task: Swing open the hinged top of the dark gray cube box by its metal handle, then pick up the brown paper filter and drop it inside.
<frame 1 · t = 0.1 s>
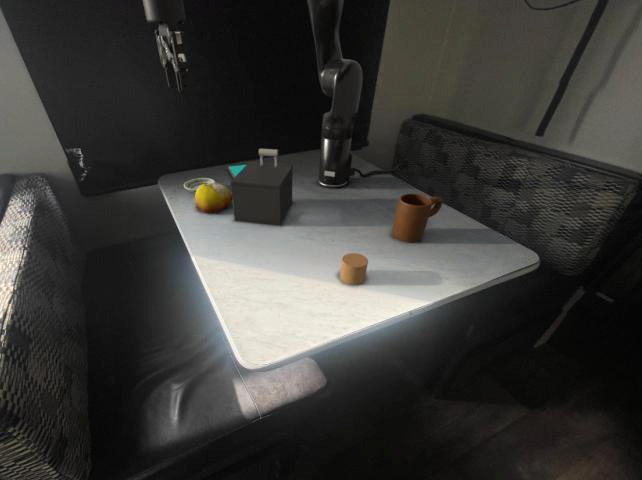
hand: (179, 90, 74), 29 cm above the table, tool pointing down, fingers open, 8 cm apart
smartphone: (242, 175, 115), on the table
mug: (413, 234, 84), on the table
fruit: (215, 207, 96), on the table
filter: (352, 277, 70), on the table
dark gray cube box: (264, 211, 94), on the table
saucer: (200, 191, 105), on the table
lid: (263, 165, 86), point 12 cm above the table, hinge at 0.0°
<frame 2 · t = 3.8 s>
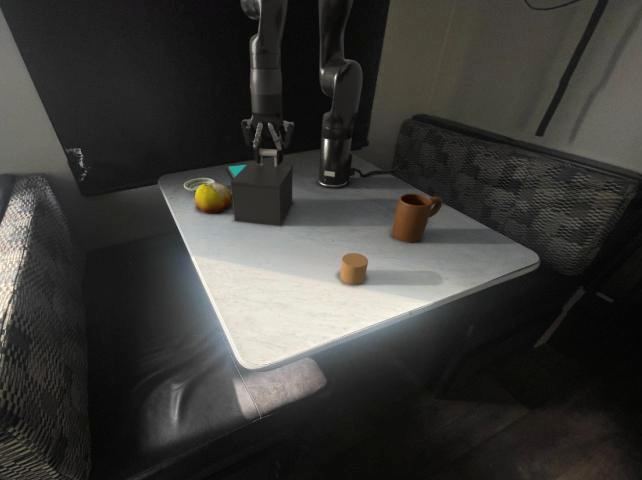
hand: (268, 162, 91), 11 cm above the table, tool pointing down, fingers closed on lid, 5 cm apart
lid: (263, 165, 86), point 12 cm above the table, hinge at 0.0°, touching gripper
everything else where it was.
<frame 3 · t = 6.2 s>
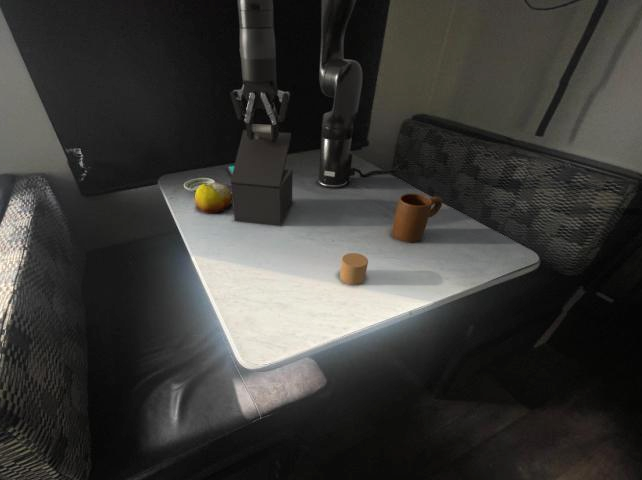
hand: (262, 139, 82), 19 cm above the table, tool pointing down, fingers closed on lid, 5 cm apart
lid: (259, 152, 81), point 16 cm above the table, hinge at 35.4°, touching gripper
everything else where it was.
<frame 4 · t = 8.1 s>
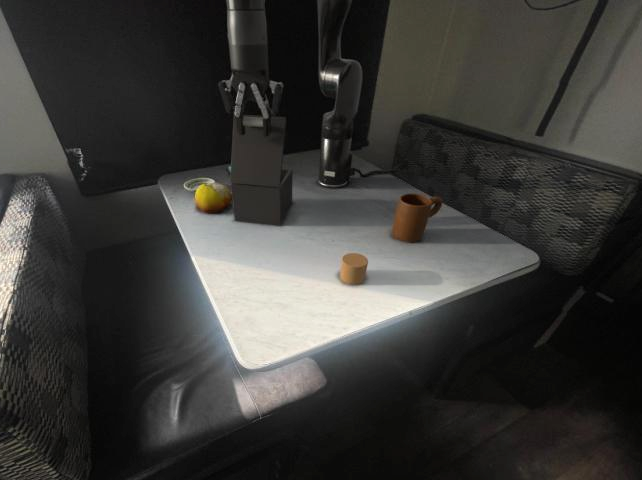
hand: (254, 134, 76), 21 cm above the table, tool pointing down, fingers closed on lid, 5 cm apart
lid: (254, 149, 78), point 18 cm above the table, hinge at 63.7°, touching gripper
everything else where it was.
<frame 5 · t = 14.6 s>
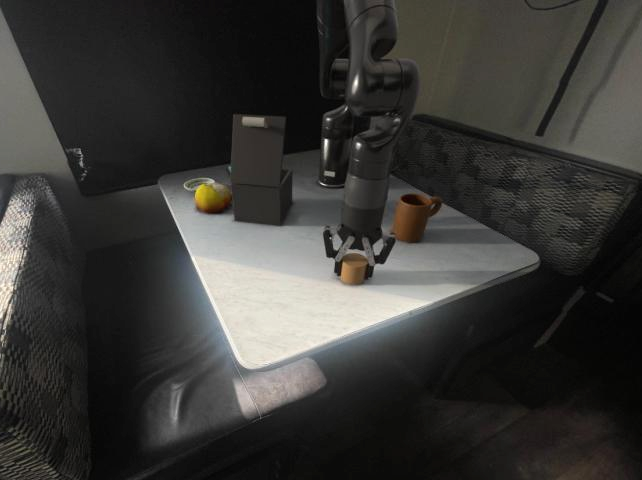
hand: (352, 275, 70), 0 cm above the table, tool pointing down, fingers closed on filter, 5 cm apart
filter: (352, 277, 70), on the table, touching gripper
lid: (254, 149, 77), point 18 cm above the table, hinge at 64.5°
everything else where it was.
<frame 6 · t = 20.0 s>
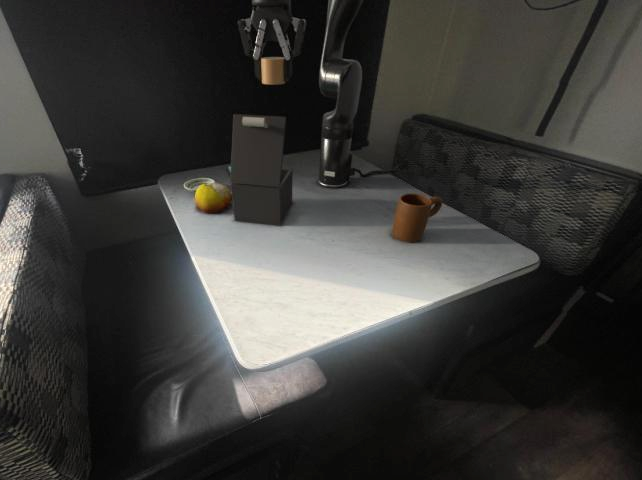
hand: (273, 80, 73), 31 cm above the table, tool pointing down, fingers closed on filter, 5 cm apart
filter: (273, 82, 73), point 31 cm above the table, touching gripper
everything else where it was.
when the fingers open (8 cm above the table, at t = 25.4 s): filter drops 7 cm, resting on dark gray cube box.
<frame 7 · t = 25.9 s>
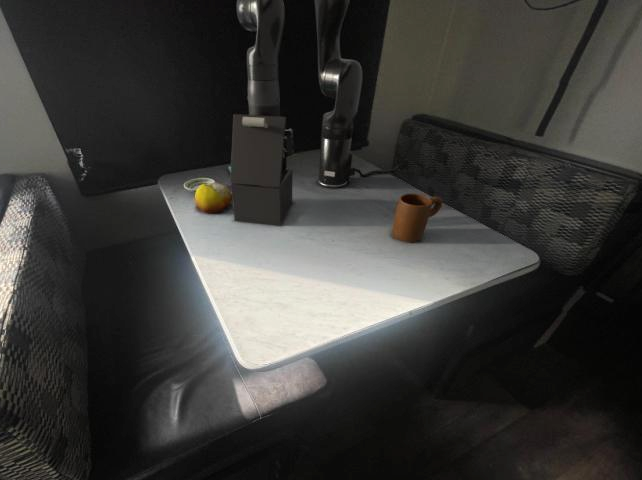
hand: (267, 170, 90), 10 cm above the table, tool pointing down, fingers open, 8 cm apart
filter: (267, 203, 96), point 1 cm above the table, touching dark gray cube box
everything else where it was.
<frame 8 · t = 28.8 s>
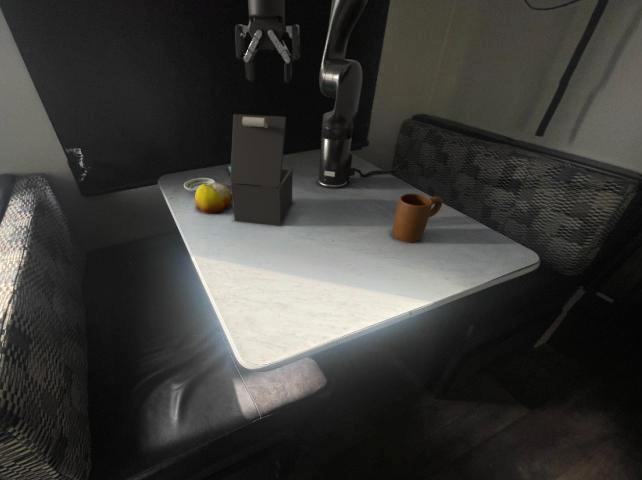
hand: (268, 82, 78), 30 cm above the table, tool pointing down, fingers open, 8 cm apart
nothing on the table moved.
at the end: lid at +64° (first picture: +0°); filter inside the target area in the dark gray cube box (3.4 cm from its centre), point 0.8 cm above the dark gray cube box's base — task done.
